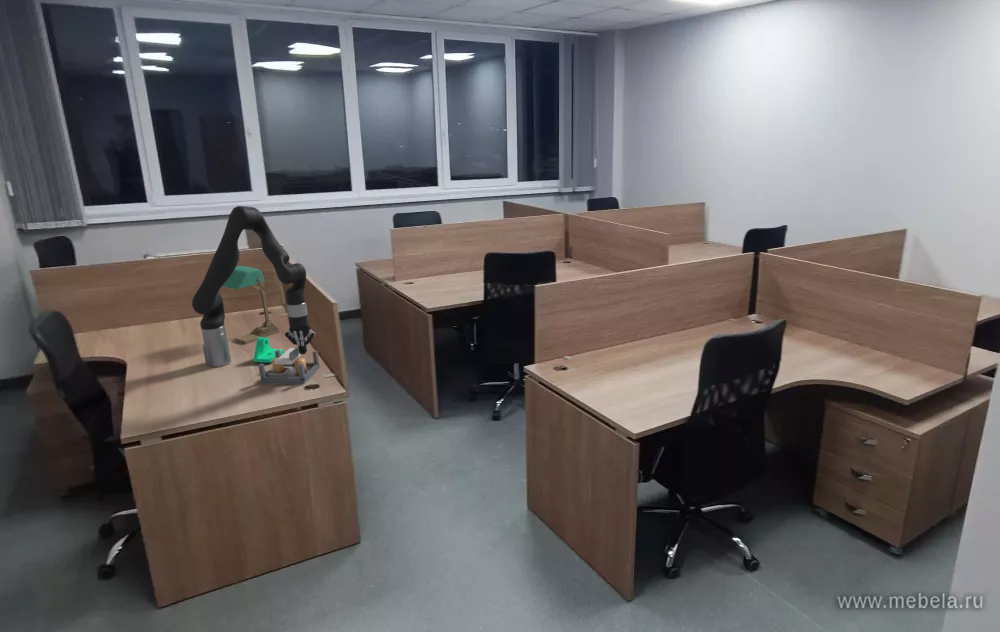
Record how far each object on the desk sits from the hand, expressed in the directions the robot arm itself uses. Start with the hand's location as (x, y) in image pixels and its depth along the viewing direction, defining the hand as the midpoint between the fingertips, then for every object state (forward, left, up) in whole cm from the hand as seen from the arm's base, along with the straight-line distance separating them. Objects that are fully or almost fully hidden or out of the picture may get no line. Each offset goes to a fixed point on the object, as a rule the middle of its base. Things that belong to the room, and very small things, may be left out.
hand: (303, 353), depth 238 cm
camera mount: (-24, +17, -10) cm, 31 cm away
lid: (-5, 0, -2) cm, 6 cm away
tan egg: (-11, 0, -9) cm, 14 cm away
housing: (-6, 0, -10) cm, 12 cm away
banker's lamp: (-44, +45, -10) cm, 64 cm away
